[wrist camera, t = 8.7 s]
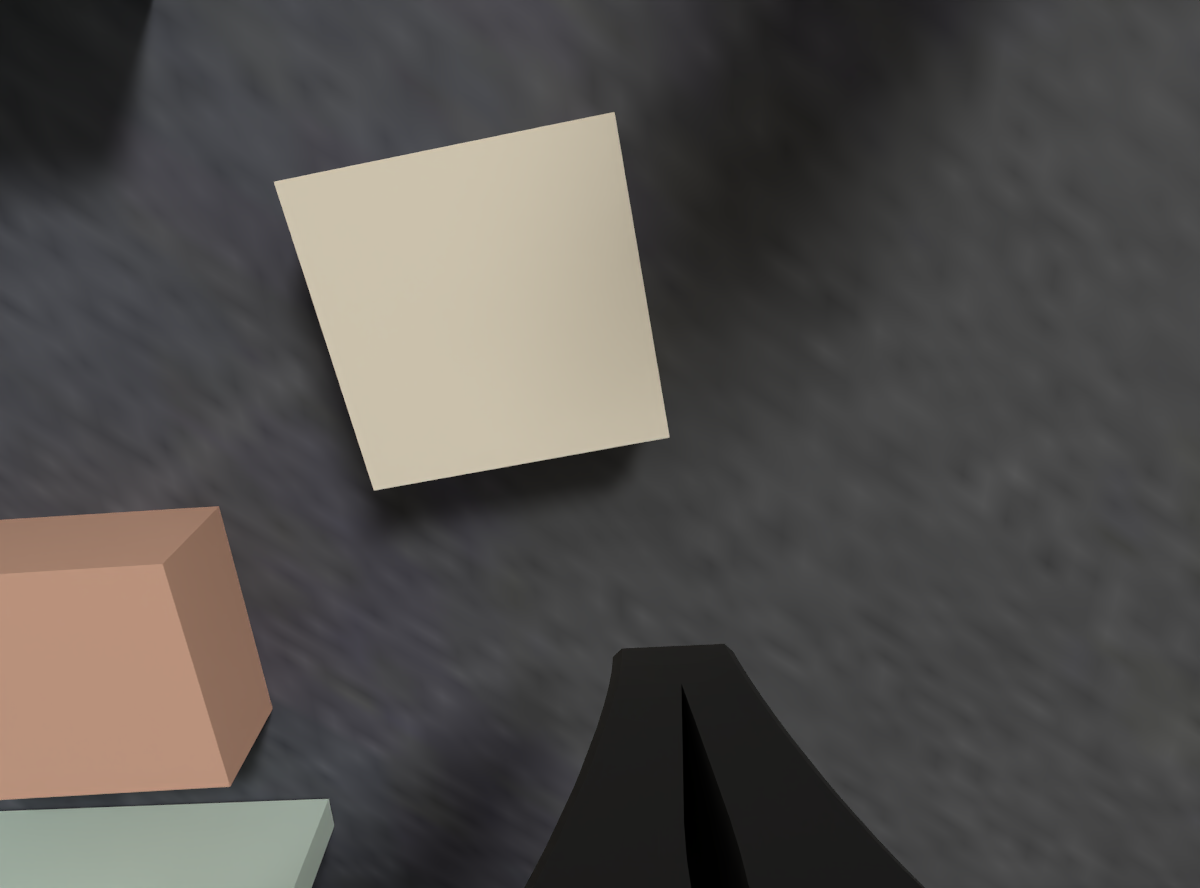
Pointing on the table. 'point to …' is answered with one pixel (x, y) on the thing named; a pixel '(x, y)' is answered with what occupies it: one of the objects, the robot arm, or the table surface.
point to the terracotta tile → (124, 655)
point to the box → (166, 845)
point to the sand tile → (482, 301)
